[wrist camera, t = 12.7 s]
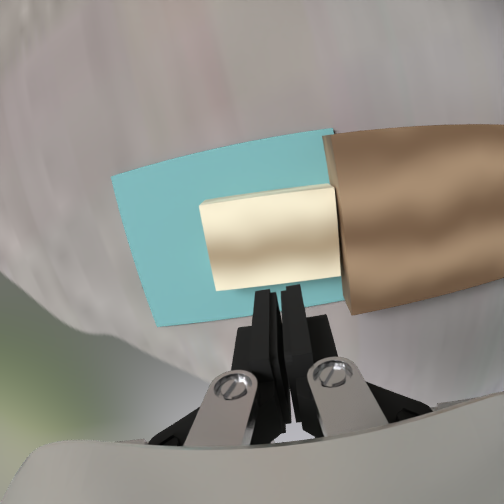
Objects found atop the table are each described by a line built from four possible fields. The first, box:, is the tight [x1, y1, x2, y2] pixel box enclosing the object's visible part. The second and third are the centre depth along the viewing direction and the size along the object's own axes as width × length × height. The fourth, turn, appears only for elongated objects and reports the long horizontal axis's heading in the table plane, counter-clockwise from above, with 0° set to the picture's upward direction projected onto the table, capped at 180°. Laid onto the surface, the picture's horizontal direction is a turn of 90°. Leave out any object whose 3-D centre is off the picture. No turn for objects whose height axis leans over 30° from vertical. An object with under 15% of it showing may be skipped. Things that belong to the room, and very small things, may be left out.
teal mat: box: [111, 128, 345, 327], centre depth 27 cm, size 15×19×1 cm
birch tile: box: [199, 183, 341, 291], centre depth 25 cm, size 7×10×2 cm
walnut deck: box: [322, 124, 504, 315], centre depth 23 cm, size 14×24×4 cm, turn 101°
